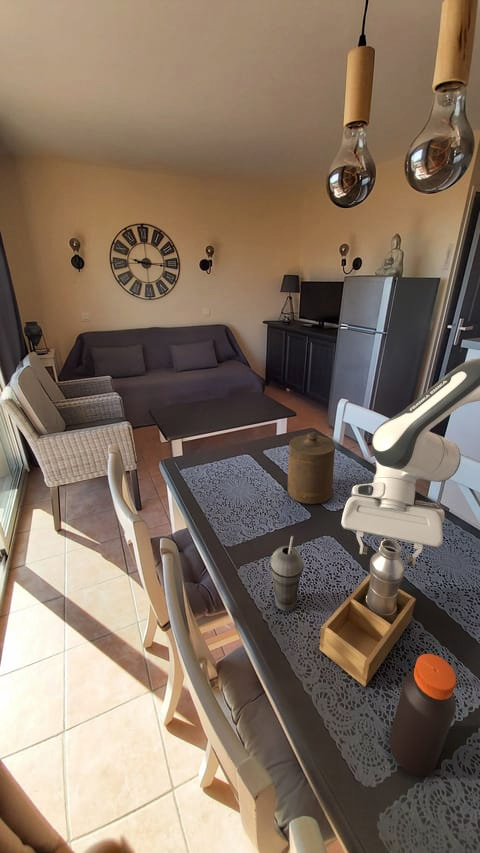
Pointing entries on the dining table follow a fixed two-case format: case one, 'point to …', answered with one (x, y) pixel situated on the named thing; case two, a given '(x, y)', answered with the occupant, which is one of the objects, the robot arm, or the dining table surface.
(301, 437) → the wooden container
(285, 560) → the beverage cup
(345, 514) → the robot arm
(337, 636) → the divided wooden box
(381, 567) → the silver metal bottle
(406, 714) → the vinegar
